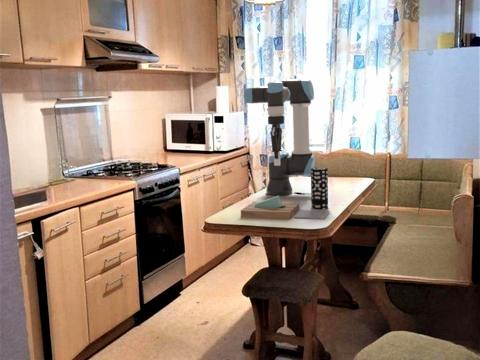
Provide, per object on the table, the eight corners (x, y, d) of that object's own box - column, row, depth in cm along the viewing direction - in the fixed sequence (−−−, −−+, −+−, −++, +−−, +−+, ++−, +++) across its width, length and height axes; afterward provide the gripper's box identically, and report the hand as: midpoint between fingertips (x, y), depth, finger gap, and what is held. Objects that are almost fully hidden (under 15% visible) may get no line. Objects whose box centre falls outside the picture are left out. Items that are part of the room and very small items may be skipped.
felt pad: (301, 211, 253) (301, 210, 253) (329, 212, 248) (329, 211, 248) (294, 218, 240) (294, 216, 240) (324, 219, 235) (324, 218, 235)
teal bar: (260, 212, 255) (257, 202, 254) (282, 205, 250) (278, 195, 250) (258, 214, 251) (254, 204, 251) (280, 206, 246) (276, 197, 246)
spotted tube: (308, 207, 261) (307, 168, 258) (322, 205, 264) (322, 166, 261) (316, 210, 253) (315, 170, 250) (331, 208, 256) (330, 168, 253)
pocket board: (253, 208, 264) (253, 201, 263) (299, 209, 256) (299, 202, 255) (240, 217, 245) (240, 210, 245) (290, 219, 238) (289, 212, 237)
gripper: (271, 115, 249) (273, 163, 253) (264, 116, 237) (265, 167, 241) (287, 114, 246) (288, 163, 250) (280, 116, 234) (281, 167, 238)
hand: (277, 165), depth 245 cm, fingers closed
